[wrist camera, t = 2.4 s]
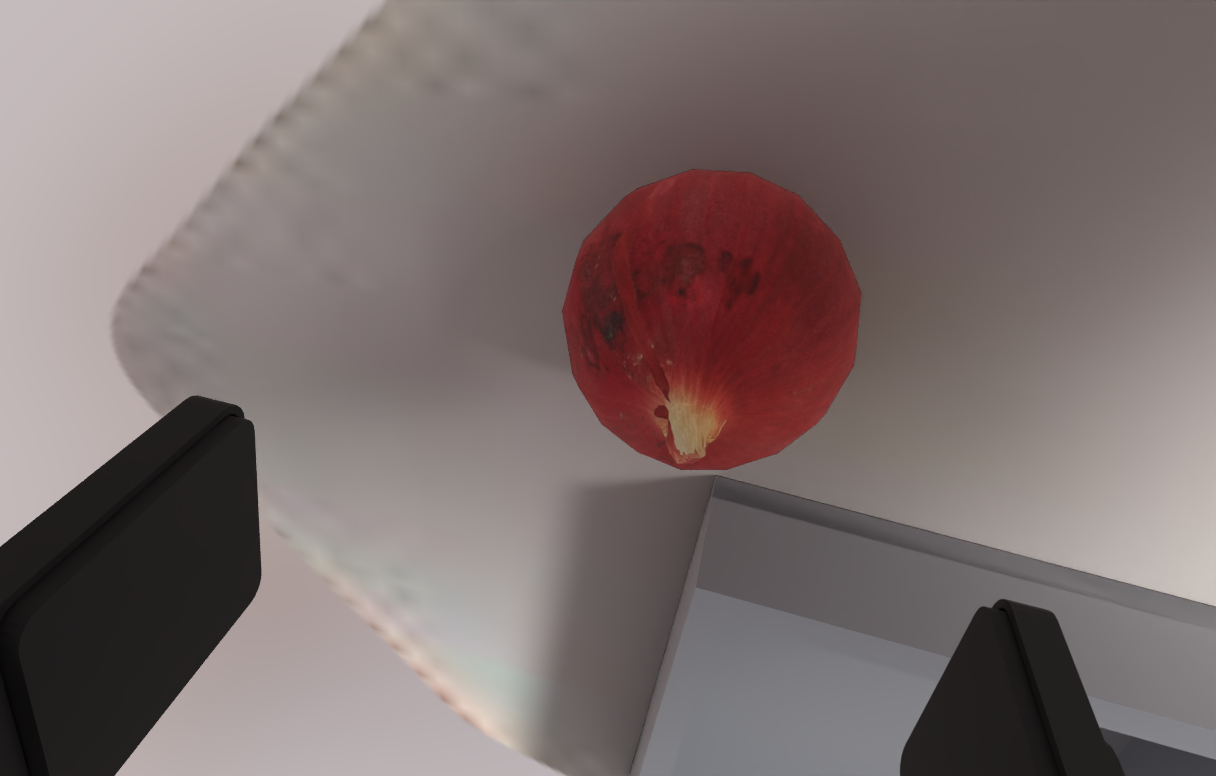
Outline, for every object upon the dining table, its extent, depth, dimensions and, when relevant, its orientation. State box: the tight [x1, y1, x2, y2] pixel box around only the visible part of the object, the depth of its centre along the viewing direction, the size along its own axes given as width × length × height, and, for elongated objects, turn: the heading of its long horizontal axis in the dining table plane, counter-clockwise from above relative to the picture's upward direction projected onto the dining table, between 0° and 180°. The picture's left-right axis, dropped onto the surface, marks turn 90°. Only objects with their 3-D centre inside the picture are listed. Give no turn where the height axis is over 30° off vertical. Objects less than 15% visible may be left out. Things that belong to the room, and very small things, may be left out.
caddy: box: [629, 476, 1216, 776], centre depth 24 cm, size 14×14×4 cm
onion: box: [562, 169, 861, 470], centre depth 17 cm, size 6×6×8 cm
